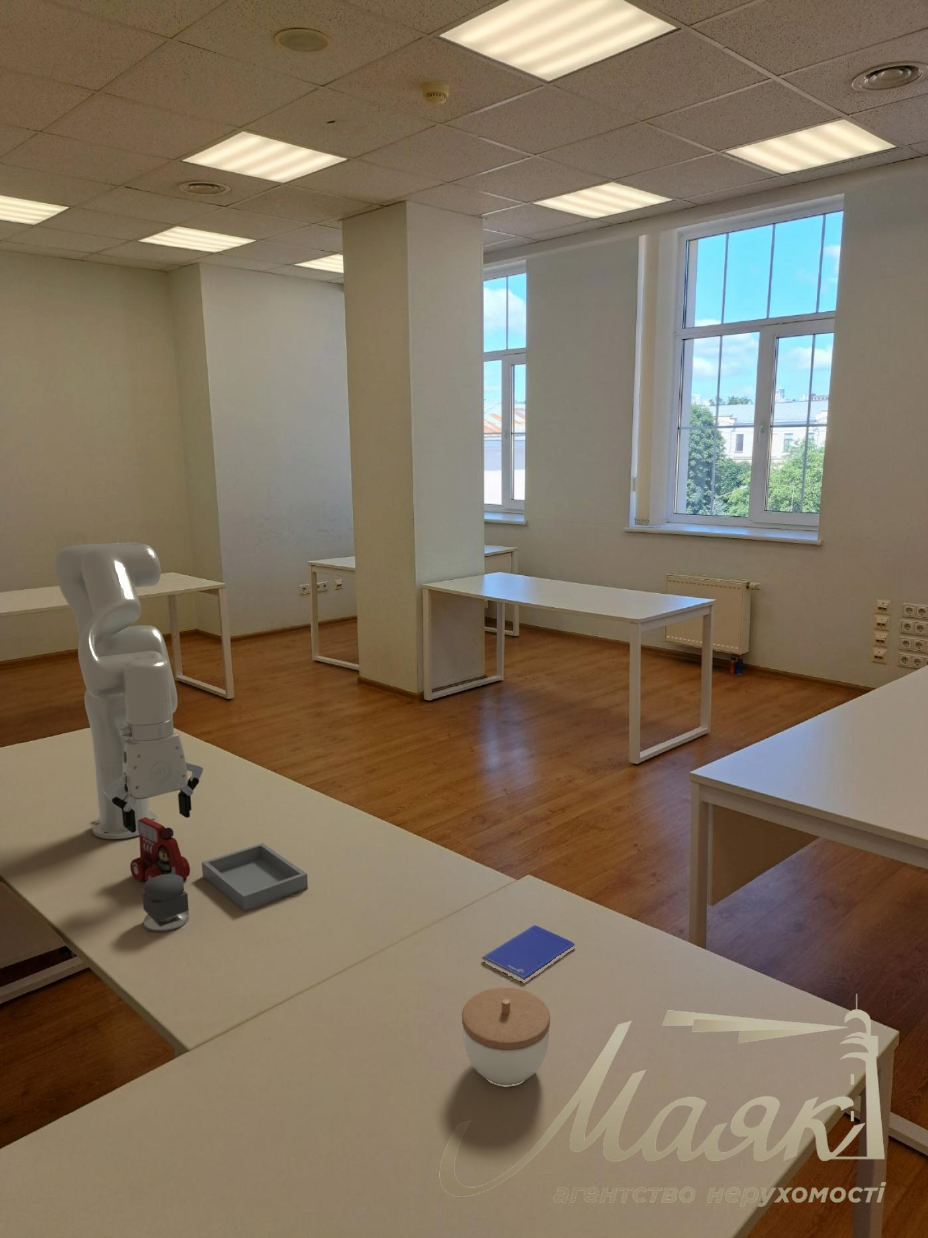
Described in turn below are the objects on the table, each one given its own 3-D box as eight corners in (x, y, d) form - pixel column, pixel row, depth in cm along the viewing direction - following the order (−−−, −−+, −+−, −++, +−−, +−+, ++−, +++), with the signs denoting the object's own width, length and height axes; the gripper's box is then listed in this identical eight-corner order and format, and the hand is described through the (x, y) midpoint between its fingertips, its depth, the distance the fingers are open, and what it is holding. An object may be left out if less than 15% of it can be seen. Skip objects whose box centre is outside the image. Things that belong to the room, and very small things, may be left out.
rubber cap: (140, 909, 140) (138, 881, 139) (176, 897, 144) (174, 870, 143) (154, 923, 136) (152, 895, 135) (191, 910, 139) (189, 883, 139)
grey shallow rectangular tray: (202, 876, 155) (201, 862, 155) (263, 856, 163) (262, 843, 162) (244, 912, 143) (243, 896, 142) (307, 888, 151) (307, 874, 150)
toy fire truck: (162, 897, 148) (158, 841, 146) (126, 875, 156) (121, 822, 154) (197, 882, 153) (194, 828, 151) (161, 862, 161) (157, 810, 159)
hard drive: (524, 977, 122) (575, 942, 131) (481, 955, 128) (533, 923, 137) (524, 987, 123) (575, 952, 132) (481, 965, 128) (533, 932, 137)
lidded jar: (484, 1113, 98) (484, 1040, 97) (448, 1055, 108) (448, 988, 106) (565, 1086, 103) (566, 1015, 101) (524, 1032, 112) (524, 967, 111)
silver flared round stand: (137, 920, 141) (135, 893, 140) (179, 905, 145) (177, 879, 144) (153, 937, 135) (151, 909, 134) (196, 922, 140) (194, 895, 139)
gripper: (107, 744, 141) (116, 843, 144) (206, 724, 152) (213, 815, 155) (92, 735, 147) (101, 830, 149) (189, 716, 158) (196, 804, 160)
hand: (158, 822), depth 152 cm, fingers open, 9 cm apart
